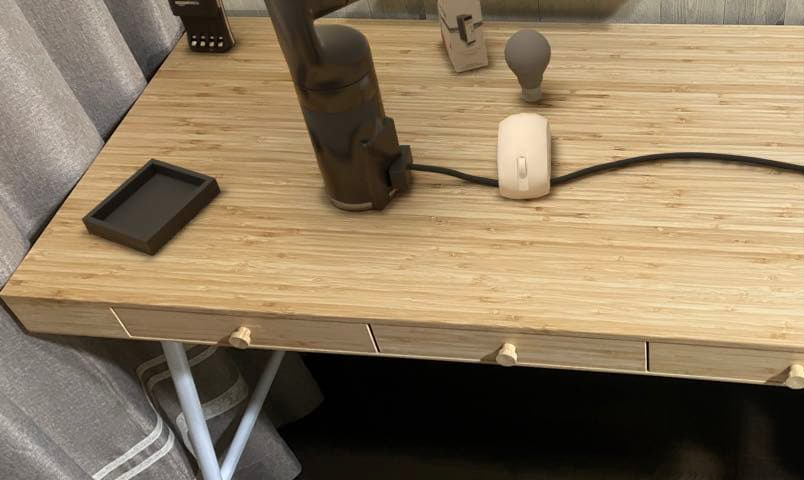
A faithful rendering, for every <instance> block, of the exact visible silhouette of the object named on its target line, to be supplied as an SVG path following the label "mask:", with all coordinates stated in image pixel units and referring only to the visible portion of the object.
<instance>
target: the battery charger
mask: <svg viewBox="0 0 804 480" xmlns="http://www.w3.org/2000/svg"><path fill="white" fill-rule="evenodd" d="M167 3H168V5H169V9H170V10H171V13H172V16H175V17H179V19H180V21H181V23H182V25H183V28H184V30H185V35H186V39H187V44H188V46H189V50H191V51H194V52H204V53H205V52H208V53H222V52H226V51H228V50H229V49H230V48H231V47H232V46H234V44H235V42H236V38H235V36H234V34H233V31H232V28H231V25H230V22H229V20H228V16H227V12H226V9H225V5H224V1H223V0H167Z"/></svg>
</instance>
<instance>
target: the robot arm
mask: <svg viewBox="0 0 804 480" xmlns="http://www.w3.org/2000/svg"><path fill="white" fill-rule="evenodd" d="M359 1H360V0H263V3H264V5H265V7H266V10H267V13H268V15H269V18H270V21H271V25H272V26H273V29H274V32H275V35H276V40H277V43H278V45H279V47H280V50H281V53H282V55H283V58H284V60H285V61H286V62H285V63H286V65H287V68H288V70H289V74H290V77H291V80H292V83H293V87H294V90H295V94H296V95H297V100H298V104H299V106H300V110H301V114H302V117H303V120H304V123H305V127H306V130H307V133H308V137H309V139H310V143H311V146H312V149H313V152H314V156H315V159H316V163H317V166H318V169H319V173H320V175H321V178H322V181H323V186H324V191H325V194H326V197H327V200H329V202H330V203H331V204H332V205H333V206H335V207H337V208H339V209H342V210H347V211H355V212H356V211H357V212H359V211H366V210H371V209H376V210H378V211H382V210H383V209H384V208H385V207H386V205H388V203H389V202H390V201H391V200H392V199H393V198H394V197H395V196H396V195H397V194H398V192H400V190H403V189H405V190H406V189H409V185H410V181H411V180H410V179H411V175H412V171H415V172H423V173H433V174H440V175H445V176H450V177H453V178H456V179H459V180H463V181H467V182H471V183H476V184H482V185H488V186H492V187H499V180H498V179H496V178H489V177H485V176H484V177H483V176H480V175H479V176H478V175H474V174H468V173H465V172H461V171H459V170H457V169H456V170H455V169H452V168H447V167H442V166H438V165H437V166H436V165H428V164H422V163H421V164H420V163H419V164H418V163H414V158H413V154H412V149H411V145H410V144H400V141H399V137H398V132H397V128H396V124H395V123H396V122H395V119H394V118H392V117H389V116H387V115H386V111H385V106H384V101H383V98H382V97H383V96H382V94H381V89H380V85H379V81H378V80H379V79H378V76H377V71H376V67H375V63H374V58H373V54H372V50H371V46H370V43H369V41H368V39H367V37H366V36H365V35H364V33H363V32H362V31H360V30H359V29H357V28H355V27H352V26H349V25H345V24H338V23H321V24H319V23H318V24H317V23H316V24H315V21H317V20H319V19H321V18H324V17H326V16H328V15H331V14H333V13H335V12H337V11H340V10H342V9H344V8H346V7H349V6H350V5H354V4H355V3H357V2H359ZM685 159H686V160H687V159H688V160H693V159H694V160H713V161H722V162H723V161H725V162H736V163H743V164H752V165H759V166H764V167H769V168H775V169H776V168H777V169H781V170H786V171H791V172H798V173H804V165H801V164H796V163H790V162H785V161H781V160H779V161H778V160H774V159H769V158H761V157H757V156H748V155H740V154H728V153H718V152H717V153H716V152H703V151H702V152H701V151H680V152H679V151H677V152H662V153H653V154H645V155H639V156H633V157H629V158H628V157H627V158H622V159H619V160H615V161H610V162H609V161H608V162H605V163H601V164H597V165H596V164H595V165H593V166H589V167H585V168H581V169H579V170H576V171H573V172H570V173H568V174H567V173H566V174H564V175H560V176H556V177H552V178H550V187H551V186H556V185H560V184H564V183H566V182H570V181H572V180H575V179H580V178H581V177H585V176H588V175H591V174H594V173H598V172H604V171H608V170H612V169H617V168H622V167H627V166H630V165H637V164H641V163H647V162H655V161H665V160H666V161H667V160H685Z"/></svg>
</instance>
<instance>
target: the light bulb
mask: <svg viewBox="0 0 804 480" xmlns="http://www.w3.org/2000/svg"><path fill="white" fill-rule="evenodd" d="M551 48H552V47H551V45H550V43H549V40H548V39H547V38H546V37H545V36H544V34H542V33H541V32H539V31H537V30H535V29H531V28H524V29H520V30H518V31H515V32H514V33H513V34H512V35H511V36H510V37H509V38H508V40H507V41H506V44H505V47H504V49H503V51H504V53H503V54H504V60H505V63H506V65H507V68H509V69H510V71H511V72H512V73H513V74H514V75H515V77H516V78H517V82H518V84H519V85H520V91H521V97H522V98H521V99H522V100H524V101H525V102H536V101H539V100H540V99H541V98H542V97H543V93H542V82H543V79H544V73H545V71H546V70H547V68H548V66H549V64H550V61H551V58H552V49H551Z"/></svg>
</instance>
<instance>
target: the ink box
mask: <svg viewBox="0 0 804 480" xmlns="http://www.w3.org/2000/svg"><path fill="white" fill-rule="evenodd" d="M435 3H436V4H435V5H436V10H437V15H438V22H439V27H440V28H439V29H440V35H441V39H442V44H443V46H444V49H445V51H446V53H447V55H448V58H449V60H450V63H451V64H452V66H453V68H454V71H455V73H462V72H467V71H470V70H474V69H475V70H476V69H479V68H484V67H487V66H488V65H489V58H488V52H487V45H486V38H485V30H484V29H485V28H484V23H483V14H482V8H481V0H435Z"/></svg>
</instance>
